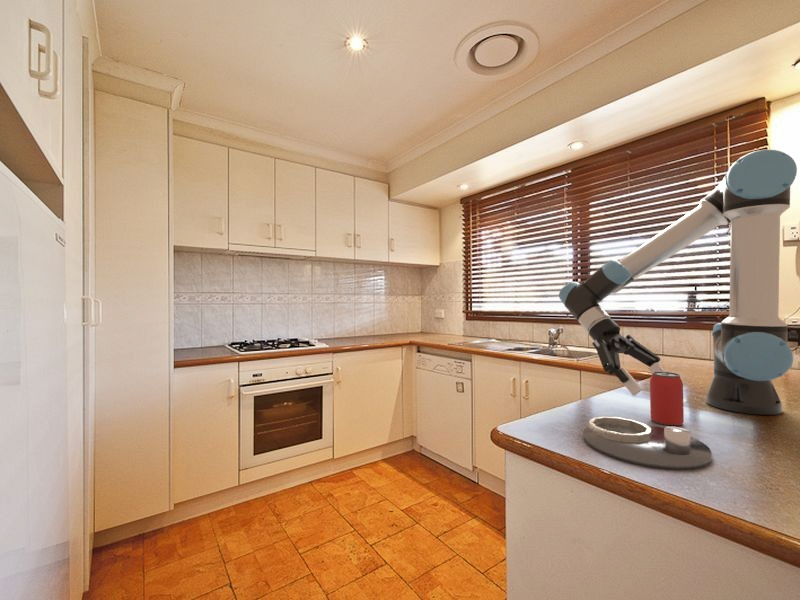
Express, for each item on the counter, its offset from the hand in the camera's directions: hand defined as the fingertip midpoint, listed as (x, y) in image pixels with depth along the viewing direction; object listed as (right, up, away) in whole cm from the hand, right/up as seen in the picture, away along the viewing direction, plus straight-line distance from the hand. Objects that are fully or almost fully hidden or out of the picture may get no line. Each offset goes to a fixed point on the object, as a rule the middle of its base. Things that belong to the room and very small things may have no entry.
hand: (655, 389), depth 91 cm
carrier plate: (-13, -8, -15) cm, 22 cm away
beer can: (+2, -8, -2) cm, 8 cm away
